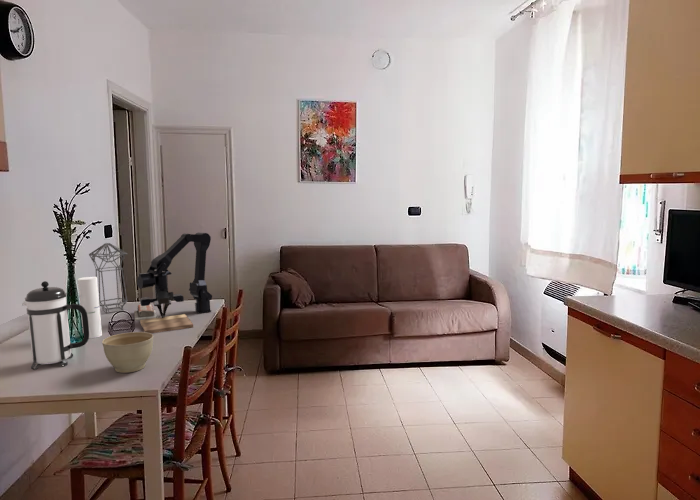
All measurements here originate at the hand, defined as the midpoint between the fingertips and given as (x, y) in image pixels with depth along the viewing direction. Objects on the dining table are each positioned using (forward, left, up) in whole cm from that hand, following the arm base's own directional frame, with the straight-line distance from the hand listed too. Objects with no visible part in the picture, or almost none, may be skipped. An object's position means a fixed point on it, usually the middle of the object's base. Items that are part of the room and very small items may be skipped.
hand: (163, 317), depth 241 cm
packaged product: (+6, -15, -2) cm, 16 cm away
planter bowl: (+19, +63, -2) cm, 66 cm away
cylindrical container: (+30, +11, -2) cm, 32 cm away
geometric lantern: (+20, -35, -2) cm, 40 cm away
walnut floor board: (0, +13, -1) cm, 13 cm away
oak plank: (0, +3, -1) cm, 3 cm away
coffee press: (+42, +42, -2) cm, 59 cm away
